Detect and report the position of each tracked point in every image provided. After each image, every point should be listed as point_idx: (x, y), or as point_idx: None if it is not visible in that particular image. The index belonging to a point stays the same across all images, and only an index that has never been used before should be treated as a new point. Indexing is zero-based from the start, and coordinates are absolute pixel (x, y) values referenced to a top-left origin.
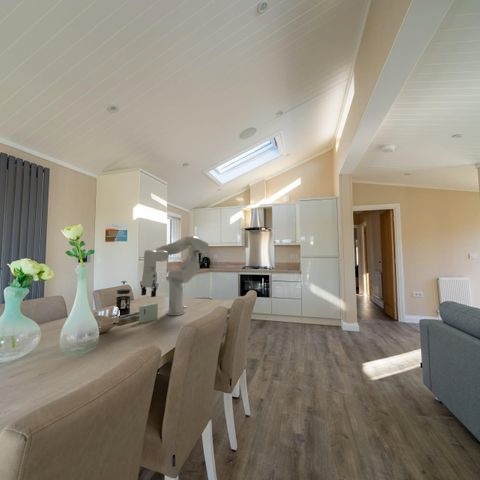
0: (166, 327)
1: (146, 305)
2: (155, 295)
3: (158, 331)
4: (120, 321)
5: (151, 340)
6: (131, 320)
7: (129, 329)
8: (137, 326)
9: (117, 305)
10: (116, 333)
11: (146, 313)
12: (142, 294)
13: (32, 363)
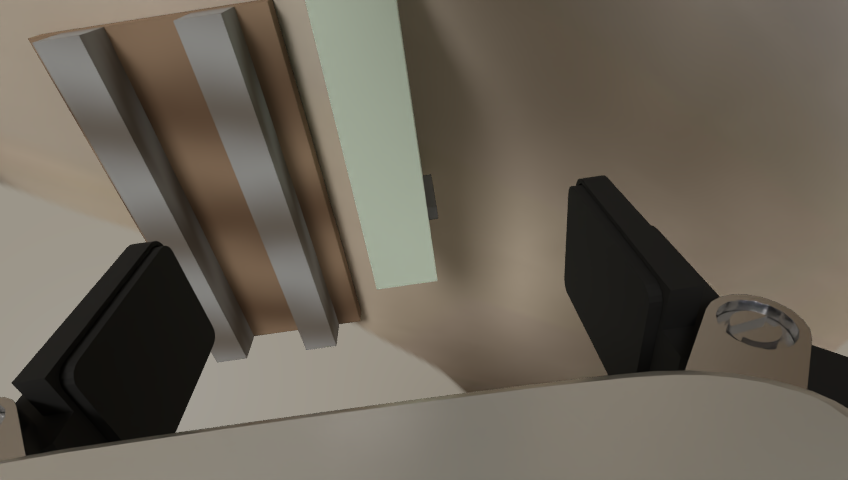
0: (773, 74)
1: (404, 202)
2: (611, 195)
3: (769, 187)
4: (335, 326)
5: (836, 298)
6: (320, 232)
7: (516, 304)
8: (496, 240)
9: None
10: (522, 374)
11: (419, 154)
12: (208, 346)
13: None
